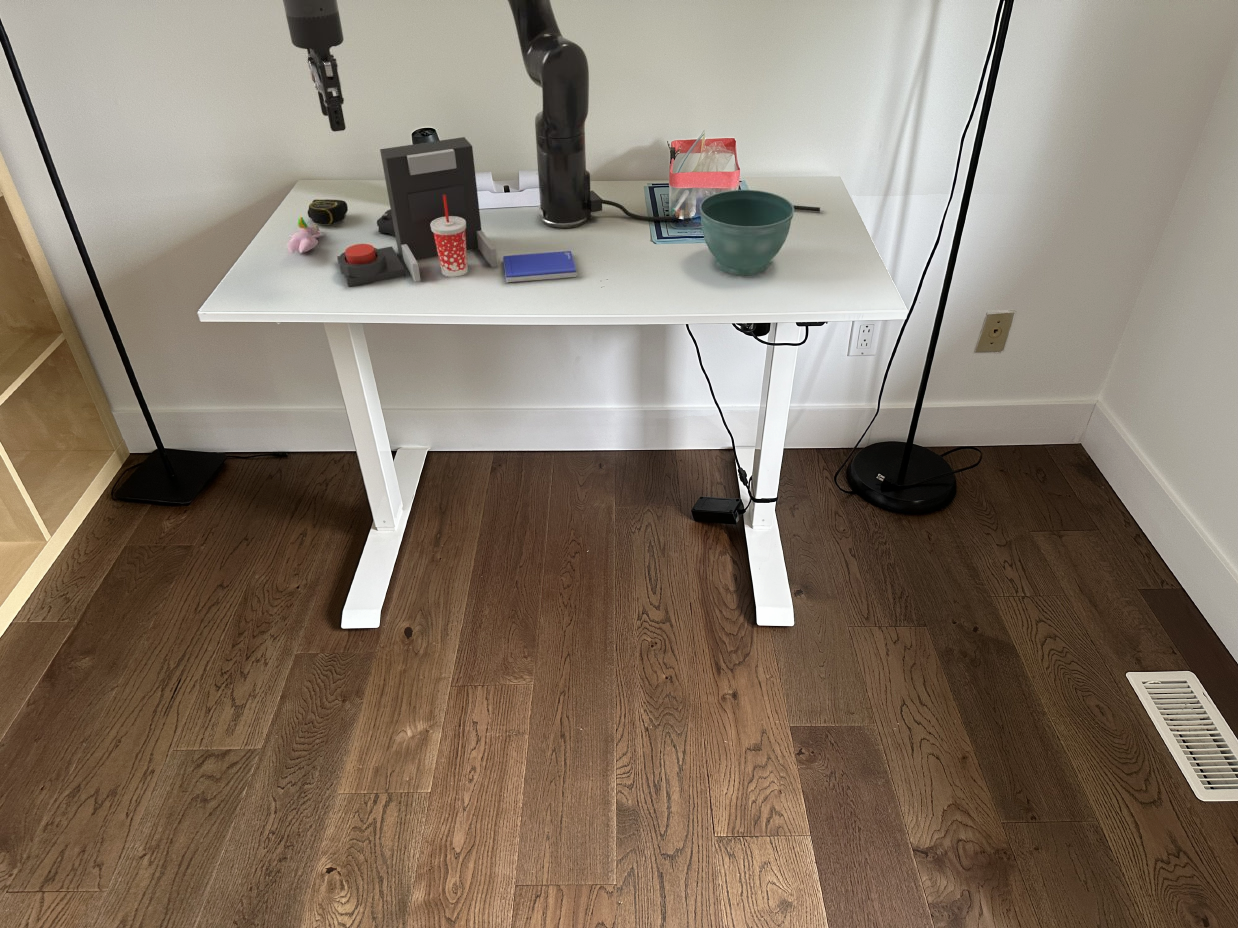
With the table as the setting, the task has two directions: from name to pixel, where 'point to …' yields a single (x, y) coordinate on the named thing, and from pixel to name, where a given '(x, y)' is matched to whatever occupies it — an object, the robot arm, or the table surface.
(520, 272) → the hard drive
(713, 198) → the flower pot
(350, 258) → the power button
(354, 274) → the button deck
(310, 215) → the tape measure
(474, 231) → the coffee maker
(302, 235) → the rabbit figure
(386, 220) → the game controller
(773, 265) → the table surface
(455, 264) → the beverage cup
